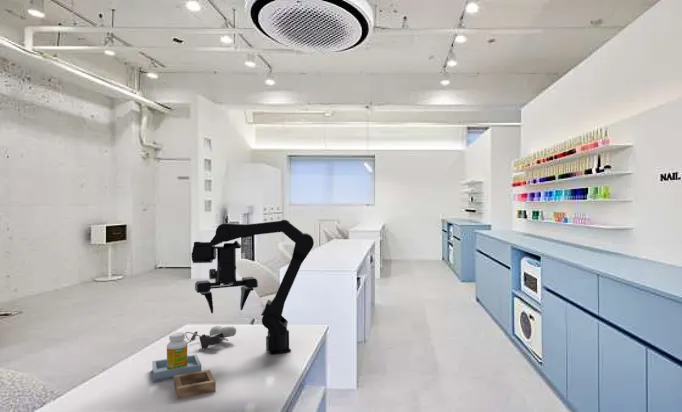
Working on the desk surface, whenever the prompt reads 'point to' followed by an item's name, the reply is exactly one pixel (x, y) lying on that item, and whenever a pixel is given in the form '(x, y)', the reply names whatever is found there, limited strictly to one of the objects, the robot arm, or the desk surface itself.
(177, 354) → the supplement bottle
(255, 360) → the desk surface
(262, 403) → the desk surface
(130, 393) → the desk surface
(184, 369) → the tray
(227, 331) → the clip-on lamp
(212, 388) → the frame
